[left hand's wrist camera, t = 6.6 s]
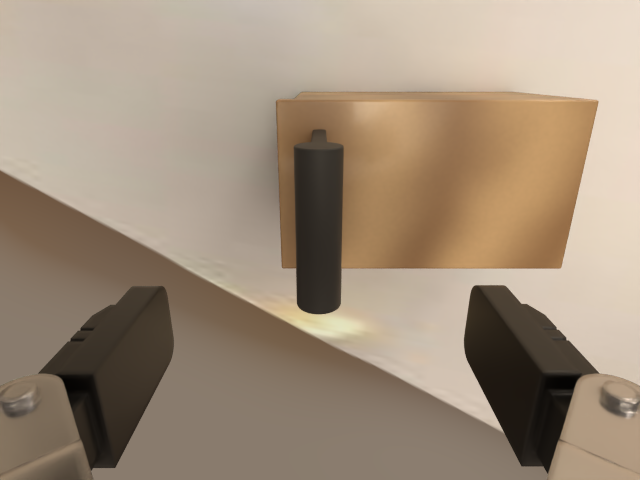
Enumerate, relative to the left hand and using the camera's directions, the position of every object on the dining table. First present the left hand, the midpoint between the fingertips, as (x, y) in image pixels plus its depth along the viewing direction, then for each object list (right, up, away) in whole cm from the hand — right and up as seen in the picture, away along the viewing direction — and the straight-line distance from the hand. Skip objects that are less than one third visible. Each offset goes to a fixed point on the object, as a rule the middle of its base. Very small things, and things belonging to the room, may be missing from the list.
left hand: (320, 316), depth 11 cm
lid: (+6, +5, +13) cm, 15 cm away
